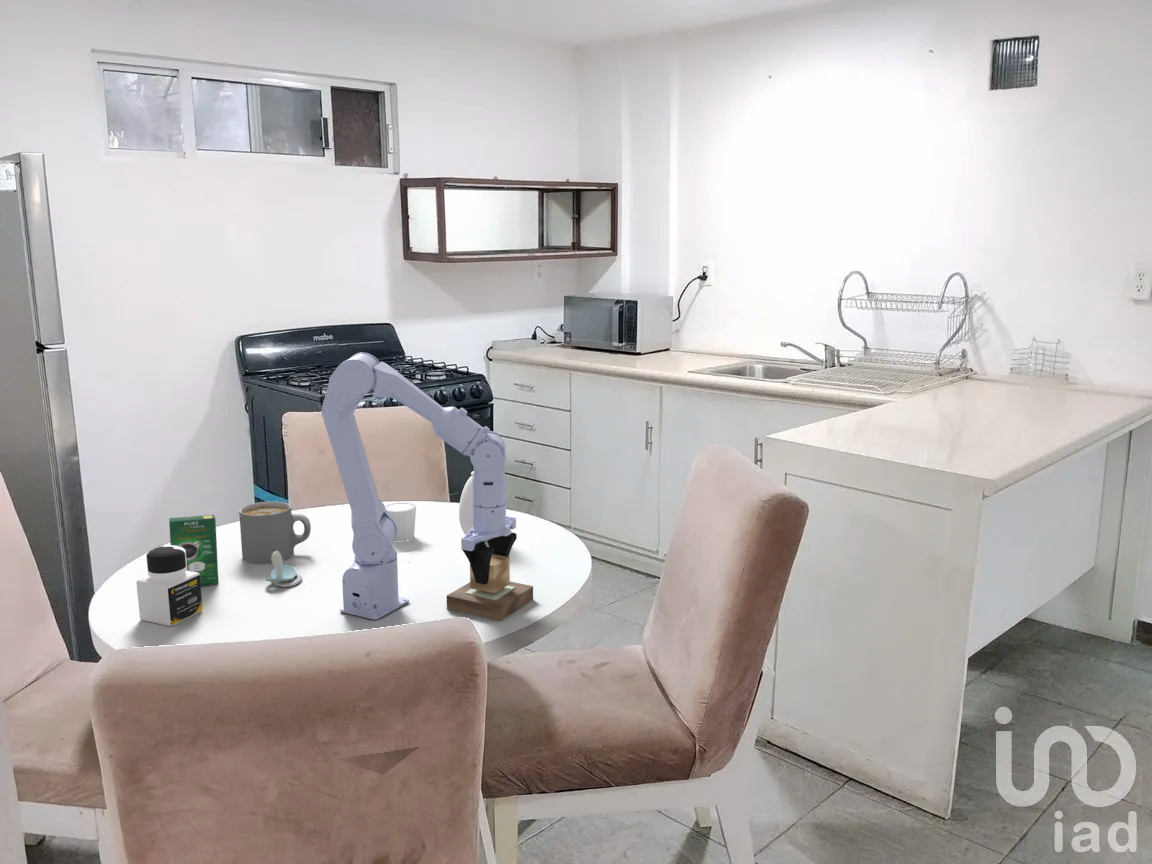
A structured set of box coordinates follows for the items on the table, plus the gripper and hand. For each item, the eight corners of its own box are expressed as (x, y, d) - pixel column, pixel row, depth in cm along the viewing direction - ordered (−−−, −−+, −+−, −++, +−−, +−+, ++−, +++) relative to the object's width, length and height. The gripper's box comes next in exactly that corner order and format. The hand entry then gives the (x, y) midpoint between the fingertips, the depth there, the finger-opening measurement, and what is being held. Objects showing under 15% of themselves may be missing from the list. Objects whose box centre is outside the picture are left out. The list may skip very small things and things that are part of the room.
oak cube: (494, 593, 157) (494, 565, 156) (470, 588, 159) (469, 561, 158) (509, 584, 161) (509, 557, 160) (485, 579, 163) (485, 552, 162)
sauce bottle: (481, 549, 189) (480, 465, 186) (452, 543, 193) (450, 460, 190) (504, 539, 196) (503, 458, 192) (475, 533, 200) (473, 453, 196)
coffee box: (219, 579, 172) (214, 512, 169) (220, 584, 169) (215, 516, 166) (173, 585, 169) (167, 517, 166) (173, 590, 166) (167, 521, 163)
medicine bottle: (171, 627, 150) (165, 558, 148) (139, 620, 153) (132, 552, 150) (203, 611, 157) (198, 545, 154) (171, 605, 159) (166, 539, 157)
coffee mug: (236, 564, 180) (232, 516, 178) (250, 548, 189) (246, 501, 187) (305, 563, 181) (302, 514, 179) (315, 546, 190) (313, 500, 188)
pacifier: (306, 576, 174) (274, 575, 174) (305, 545, 173) (273, 544, 173) (296, 590, 167) (263, 590, 167) (295, 558, 166) (261, 557, 166)
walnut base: (500, 621, 153) (500, 606, 153) (446, 609, 158) (446, 594, 158) (533, 599, 163) (533, 585, 162) (481, 588, 168) (481, 574, 167)
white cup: (409, 544, 192) (408, 512, 191) (379, 541, 194) (378, 510, 192) (421, 534, 199) (420, 503, 198) (392, 531, 200) (391, 501, 199)
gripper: (485, 517, 149) (487, 595, 152) (530, 496, 161) (530, 568, 164) (450, 511, 152) (452, 588, 155) (496, 491, 165) (497, 562, 167)
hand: (490, 577), depth 160 cm, fingers closed on oak cube, 5 cm apart
